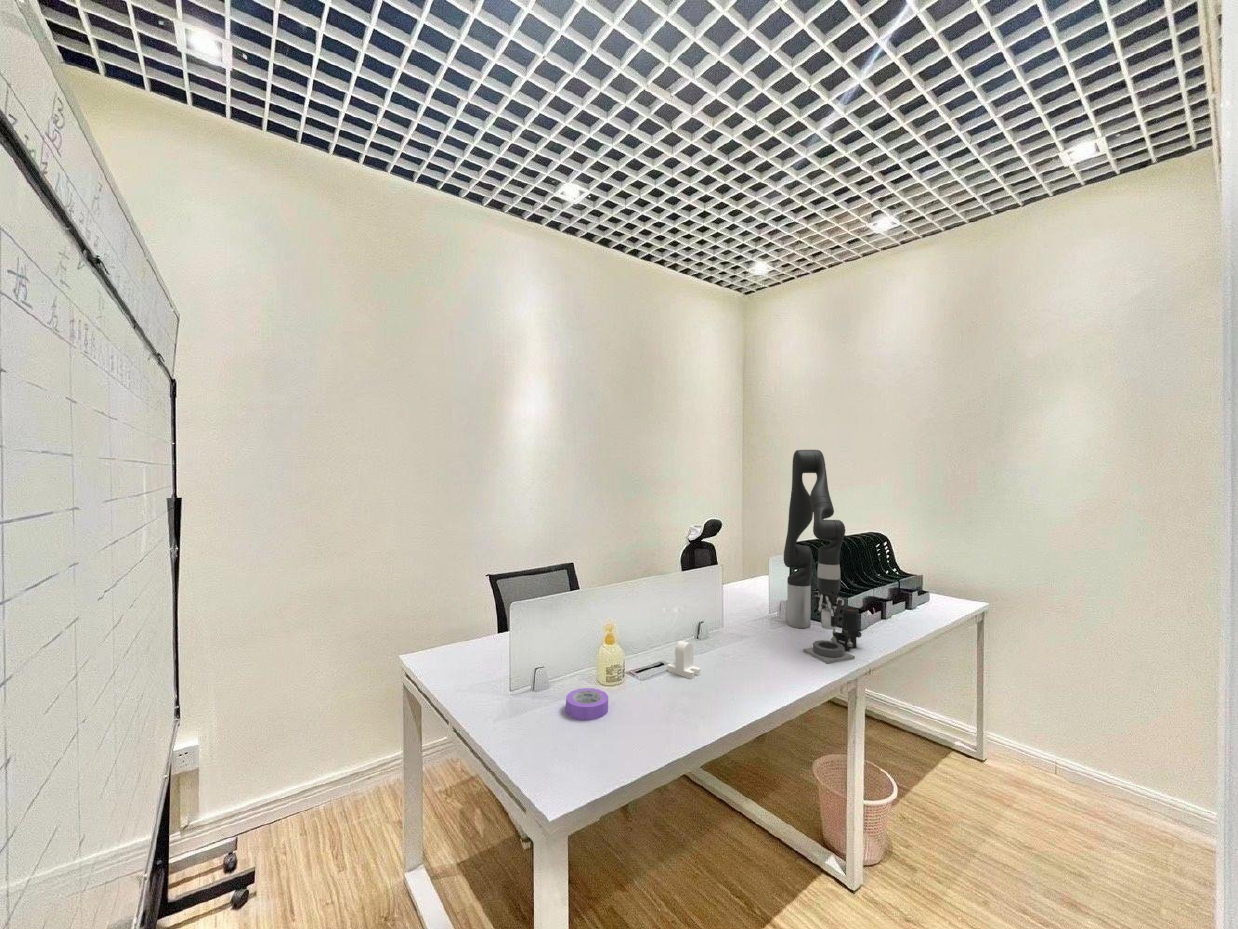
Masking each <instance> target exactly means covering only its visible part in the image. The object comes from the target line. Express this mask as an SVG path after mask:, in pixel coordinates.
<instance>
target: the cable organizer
mask: <svg viewBox="0 0 1238 929" xmlns="http://www.w3.org/2000/svg"><path fill="white" fill-rule="evenodd" d="M674 650H675V651H674V654H675V655H674V657H675V658H674V661H673V663H668V664H667V672H668V673H669V672H670V673H672V674H675V675H678V676H680V677H684V678H687V679H689V680H692V679H695V676H696V677H697V676H698V677H699V676H700V675H701V667H698V666H695V665H694V645H693V643H691V642H687V641H683V640H679V641H677V644H676V646H675V649H674Z"/></svg>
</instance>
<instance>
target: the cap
mask: <svg viewBox="0 0 1238 929" xmlns="http://www.w3.org/2000/svg"><path fill="white" fill-rule="evenodd" d="M834 612H835V609H834ZM831 616H832V615H831V611H830V609H829V607H827V608H823V609H821V622H820V623H821V626H820V627H821V628H823V629H826V630H833V629H835V630H836V629H837V626H836V627H832V626H831Z"/></svg>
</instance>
